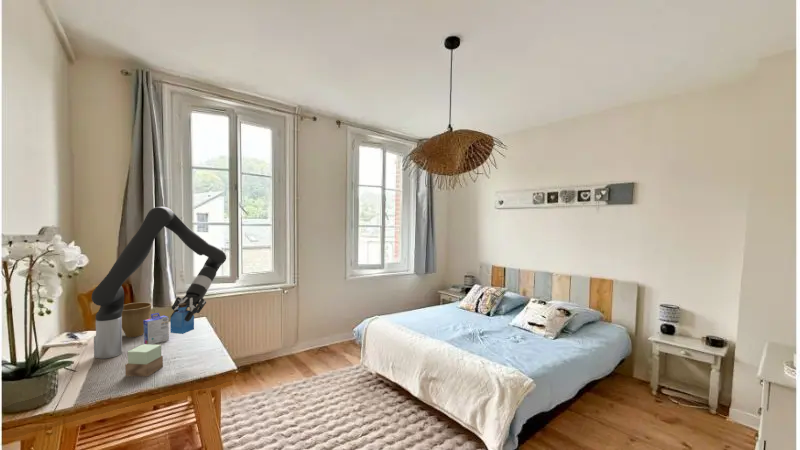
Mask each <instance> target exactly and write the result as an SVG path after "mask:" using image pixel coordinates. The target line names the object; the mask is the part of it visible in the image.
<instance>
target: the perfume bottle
mask: <svg viewBox="0 0 800 450" xmlns="http://www.w3.org/2000/svg"><path fill="white" fill-rule="evenodd" d="M186 304H187V303H180V304H178V306H179V307H178V310H179V311H177V312H175V313H174V314H173V316H172V317H171V316H170V319H169V322H170V323H169V324H170V327H169V329H170V330H169V331H170V332H169V334H170V333H171V334H179V335H184V334H186V333H188V332H190V331H193V330H195V314H194V315H193V316H192V318H191V319H190V320H189V321H185V317H186V316H187V314H188V312H190V309H189V310H187V309H188V308H187V306H186Z"/></svg>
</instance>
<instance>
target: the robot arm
mask: <svg viewBox="0 0 800 450" xmlns="http://www.w3.org/2000/svg"><path fill="white" fill-rule="evenodd" d="M164 227H165V228H166V229H168V230H170V231H171V232H173V233H174V234H175V235H176V236H177V237H178V238H179V239H180V240H181V241H182V243H183V244H185V246H187V248H189V249H190V250H191V251H192V252H193V253H195V254H196V255H199V256H205V257H207V258H206V260H205V262H204V264H203V266H202V268H201V269H200V270H199V272H198V274H197V275H196V277H195V278H194V279H193V281H192V282H191V284H190V285H189V287H188V288H187V290H186V291H185V295H184V296H183V297H180V296H177V297H176V299H175V300H174V302H173V303H172V304H173V305H172V306H171V310H173V312H172V313H171V315H170V318H171V317H172V316H173V314H174V313H175V312H177V311H179V310H178V307H179V306H178V304H180V303H187V304H186V306H187V309H189V311H190V312H188V314H187V316H186V317H185V321H189V320H190V319H191V318H192V316H193V315H194V316H195V314H200V313H201V311H202V310H203V308H204V306H206V304H207V301H206V299H204V297H205V295H206V294H207V293H208V291H209V289H210V287H211V285H212V283H213V281H214V280H215V278H216V275H217V272H218V270H219V269H220V267H221V266H222V265H223V264H224V263H225V262H226V260H227V255H226V253H225V251H223V250H221V249H220V248H218V247H217V246H214V245H212V244H210V243H208V242H207V241H206V240H205V239H204V238H202V236H200V235H198V234H197V233H196V232H195V231H193V230H192V229H191V228H190V227H189V226H188V225H186V224H185V222H183V221H182V219H181V218H179V217H178V215H177V214H176V213H175V212H174V210H172V209H171V208H170V207H167V206H155V207H153V208H151V209H150V210H149V211H148V212H147V214H146V216H145V218H144V220H143V222H142V224H141V226H140V227H139V229H138V230H137V232H136V233H135V234H134V235H133V237H132V238H131V240H130V241H129V242H128V243H127V245H126V246H125V247H124V249H123V250H122V252H121V253H120V254H119V256H118V258H117V259H116V261H115V262H114V264H113V265H112V266H111V268H110V270H109V272H108V273H107V274H106V276H105V277H104V278H102V280H101V282H99V284H98V285H97V286H96V287H95V289H94V290H93V291H92V294H91V301H92V303H93V304H94V305H96V306H99V309H98V311H97V313H96V314H95V335H94V336H93V357H94V358H97V359H104V360H105V359H111V358H114V357H117V356H120V355H122V353H123V329H122V311H123V308H124V305H125V291H124V288H123V286H122V285H123V284H124V283H125V281H126V280H127V279H128V278H129V277H130V276H131V275H133V274H134V273H135V272H136V271H137V270H138V268H140V267H141V266H142V264H143V262H144V261H145V260H146V259H147V257H149V254H150V252H151V250H152V247H153V244H154V241H155V238H156V237H157V236H158V234H159V233H160V232H161V231H162V229H163V228H164Z"/></svg>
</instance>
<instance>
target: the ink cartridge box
mask: <svg viewBox="0 0 800 450" xmlns="http://www.w3.org/2000/svg"><path fill="white" fill-rule="evenodd" d="M169 322H170V319H169V316H166V315H160V312H156V313H150V318H149V319H147V320H143V323H144V334H143V344H151V345H156V344H160V343H162V342H167V341H170V332H169V331H170V330H169V329H170V327H169V324H170V323H169Z"/></svg>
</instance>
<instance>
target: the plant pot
mask: <svg viewBox="0 0 800 450" xmlns="http://www.w3.org/2000/svg"><path fill="white" fill-rule="evenodd" d="M151 310H152V303H151V302H131V303H127V304H124V308H123V311H122V332H123V333H124V334H125V336H126V338H135V337H140V336H144V323H143V320H147V319H150V317H151Z"/></svg>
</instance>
